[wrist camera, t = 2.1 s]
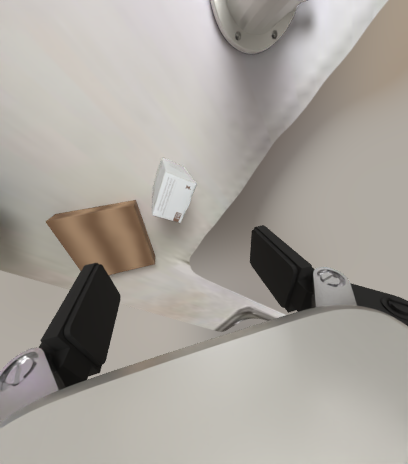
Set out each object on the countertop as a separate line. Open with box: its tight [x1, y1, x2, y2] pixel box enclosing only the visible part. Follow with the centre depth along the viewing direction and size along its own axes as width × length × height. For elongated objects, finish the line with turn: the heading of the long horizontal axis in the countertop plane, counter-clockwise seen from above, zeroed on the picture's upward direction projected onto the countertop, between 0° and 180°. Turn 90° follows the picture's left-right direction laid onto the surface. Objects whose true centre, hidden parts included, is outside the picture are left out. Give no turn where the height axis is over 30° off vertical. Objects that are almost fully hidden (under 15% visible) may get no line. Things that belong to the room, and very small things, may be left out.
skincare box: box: [152, 158, 197, 223], centre depth 25 cm, size 6×4×12 cm
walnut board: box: [46, 200, 155, 275], centre depth 32 cm, size 14×14×3 cm
